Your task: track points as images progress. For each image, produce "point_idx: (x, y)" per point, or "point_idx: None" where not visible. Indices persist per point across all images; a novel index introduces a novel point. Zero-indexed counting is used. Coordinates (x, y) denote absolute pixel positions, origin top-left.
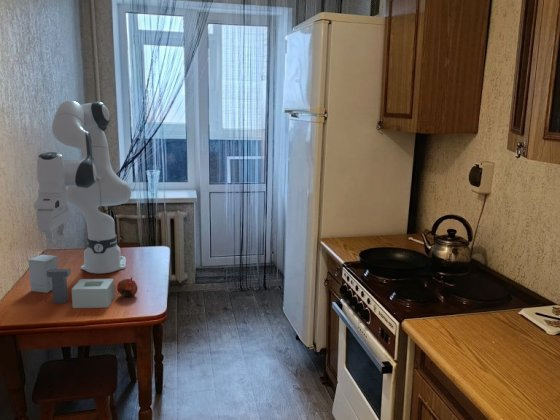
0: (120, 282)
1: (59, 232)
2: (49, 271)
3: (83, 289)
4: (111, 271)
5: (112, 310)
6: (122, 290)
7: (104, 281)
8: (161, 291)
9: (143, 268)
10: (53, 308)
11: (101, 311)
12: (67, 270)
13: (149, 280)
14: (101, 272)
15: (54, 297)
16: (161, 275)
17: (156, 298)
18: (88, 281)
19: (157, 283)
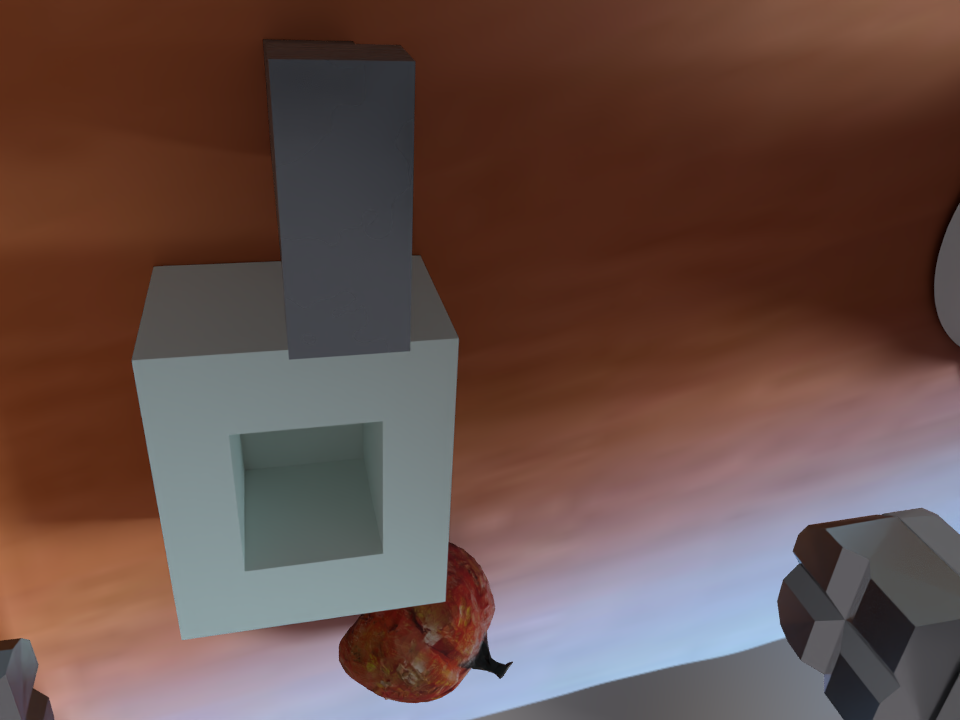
0: (416, 628)
1: (857, 630)
2: (283, 102)
3: (151, 465)
4: (944, 324)
5: (136, 559)
6: None
7: (378, 560)
8: (482, 705)
9: (937, 500)
10: (127, 84)
11: (107, 499)
12: (334, 345)
13: (692, 596)
14: (946, 257)
15: (265, 67)
16: (764, 630)
17: (365, 715)
18: (382, 436)
19: (626, 649)
